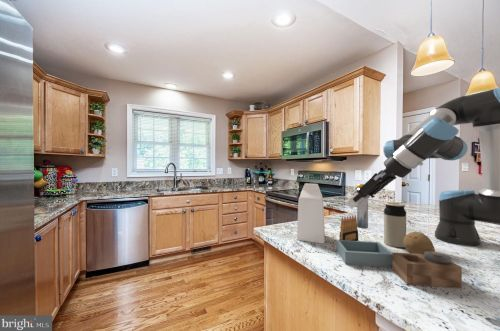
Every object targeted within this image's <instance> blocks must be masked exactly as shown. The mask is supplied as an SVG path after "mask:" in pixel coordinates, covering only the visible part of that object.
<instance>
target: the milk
mask: <svg viewBox="0 0 500 331" xmlns="http://www.w3.org/2000/svg"><path fill="white" fill-rule="evenodd" d="M324 212H325V209H324V197H323V194H322V192H321V189H320V186H319V184H318V183H304V185H303V187H302V189H301V192H300V195H299V197H298V205H297V226H296V227H297V228H296V229H297V230H296V240H297V241H304V242H311V243H312V242H313V243H319V244H324V243H325V237H326V230H325V226H326V225H325V213H324Z"/></svg>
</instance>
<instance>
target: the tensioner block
mask: <svg viewBox="0 0 500 331" xmlns="http://www.w3.org/2000/svg"><path fill="white" fill-rule="evenodd" d="M391 252H392V266H393V267H392V272H393V273H394V274H395V275H397V277H399V278H400V279H401V280H402V281H403V282H404V284H406V285H414V286H426V287H436V288H437V287H440V288H450V289H451V288H453V289H463V281H462V280H463V279H462V277H463V274H462V273H463V270H462V266H461V265H459V264H457V263H455V262H453V261H452V257H451V256H449V255H447V254H445V253H442V252H438V251H435V252H433V251H426V252H424V254H412V253H409V252H393V251H391Z"/></svg>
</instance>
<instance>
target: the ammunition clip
mask: <svg viewBox="0 0 500 331" xmlns="http://www.w3.org/2000/svg"><path fill="white" fill-rule="evenodd" d="M339 229H340V231H339V240H348V241H359V230H358V227H357V214H354V215H353V214H352V216H351V215H349V216H348V215H347V216H344V217H343V216H342V217H341V220H340V228H339Z"/></svg>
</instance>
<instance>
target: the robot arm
mask: <svg viewBox="0 0 500 331" xmlns="http://www.w3.org/2000/svg"><path fill="white" fill-rule="evenodd" d="M465 124H472V128H473V129H474V130H477V131H478V138H479V148H480V162H481V163H480V164H481V173H482V185H483V187H482V188H481V189H479V190H478V193H476V191H475V190H474V189H472V190H471V189H469V190H468V189H466V190H465V189H463V190H462V189H460V190H459V189H458V190H456V189H455V190H443V191H440V192H439V197H438V198H439V199H438V204H439V205H438V207H439V208H438V210H439V213H438V215H439V217H438V219H439V221H438V224H437V225H436V226H437V227H436V229H435V230H434V238H436V239H437V240H440V241H443V242H445V243H450V244H455V245H458V246H459V245H460V246H465V247H466V246H469V247H479V246H481V244H482V240H481V238H480V235H479V233H478V231H477V228H476V224H475V223H476V222H481V223H487V224H492V225H498V226H500V87H498V88H497V87H496V88H493V89H489V90H485V91H480V92H476V93H472V94H467V95H461V96H459V97H456V98H454V99H451V100H448V101H447V102H445V103H443V104H441V105H440V106H438V107H436V108H435V109H434V110H433V109H432V111H431V112H429V114H428V116H427V117H426V118H425V119H424V120H423V121H421V122H420V123H418V124H417V125H416V126H415V127H413V128H412V129H411V130H409V131H408V132H407V133H405V134H404V135H402V136H401V137H400V138H399V139H392V140H387V141H386V142H385V143H384V145H383V155H384V157H385V158H386V159H385V160H384V161H383V165H384V166H385V168H384V169H381V170H379V171H378V173H377V172H376V173H374V174H373V175H372V176H371V178H369V180H368V181H366V182H365V183H363V184H364V185H363V186H362V187H361V188H360V189H359V190H357V189H356V194H355V195H354V196H352V197H351V198H350V199H349V200H348V201H347V202H346V204H347V206H349V208H350V209H352V210H353V209H354V208H355V207H356V208H357V204H358V203H359V202H361V201H362V200H363V199H364V198H365V196H366V195H368V199H370V198H371V199H374V198H375V195H377V194H378V193H379V192H380V191H381V190H383V189H384V188H386V187H387V185H389V184H391V183H392V182H393V181H394V180H396V179H397V177H398V178H405V177H406V176H408V175H409V174H410V173H411V172H412V170H413V169H416V168H417V167H418V166H421V167H422V166H423V164H424V161H426V160H427V159H441V160H444V161H456V160H457V161H458V160H460V159H462V158H463V157H464V156H466V154H467V152H468V148H469V147H468V145H467V142H466V141H464V140H463V139H462V138H461V137H459V136H457V135H458V134H459V131H460V130H459V129H458V128H457V127H455V126H458V125H465ZM357 192H358V193H357Z"/></svg>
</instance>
